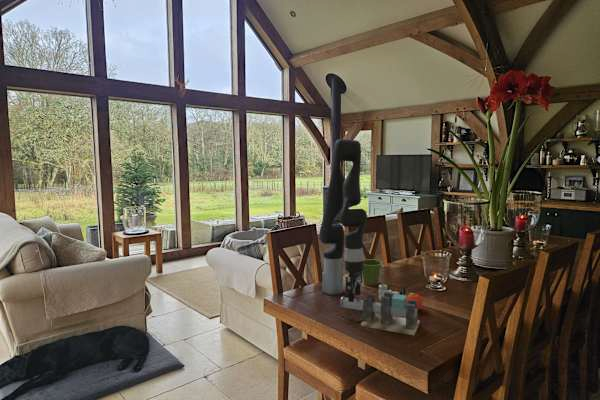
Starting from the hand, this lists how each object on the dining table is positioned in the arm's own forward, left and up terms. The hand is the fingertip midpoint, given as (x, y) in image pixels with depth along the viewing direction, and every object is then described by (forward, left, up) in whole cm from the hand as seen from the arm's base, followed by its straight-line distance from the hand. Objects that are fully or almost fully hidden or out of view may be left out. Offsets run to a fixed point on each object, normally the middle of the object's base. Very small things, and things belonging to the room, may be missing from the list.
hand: (354, 298), depth 157 cm
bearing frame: (+15, 0, -8) cm, 17 cm away
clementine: (+19, +19, -9) cm, 29 cm away
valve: (+9, +26, -9) cm, 29 cm away
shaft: (+9, 0, -5) cm, 10 cm away
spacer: (+18, 0, -1) cm, 18 cm away
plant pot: (-7, +45, -9) cm, 46 cm away
